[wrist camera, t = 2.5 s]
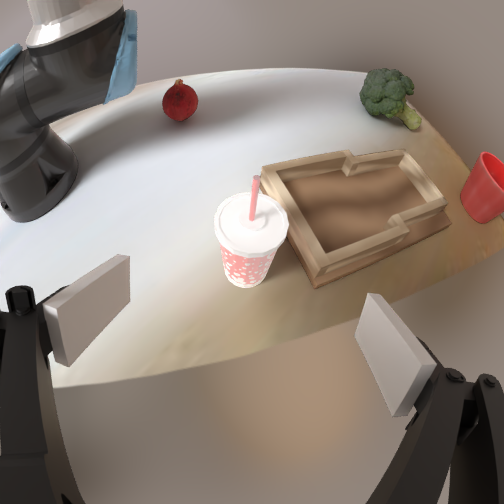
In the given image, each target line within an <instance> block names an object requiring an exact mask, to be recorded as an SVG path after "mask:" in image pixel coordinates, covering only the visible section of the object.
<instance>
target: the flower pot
mask: <svg viewBox="0 0 504 504" xmlns="http://www.w3.org/2000/svg"><path fill="white" fill-rule="evenodd" d="M460 196H461V201H462V204H463V206H464V208H465V210H466V211H467V212H468V214H469V215H470V216H471V217H472V218H473V219H474V220H476V221H477V222H479V223H486V222H488V221H490V220H491V219H493V218H495V217H496V216H498V215H499V214H501V213H502V212H504V164H503V163H502V162H501V161H500V160H499V159H498V158H497V157H495V156H494V155H492V154H491V153H488V152H482V153H481V154H480V156H479V158H478V160H477V161H476V163H475V166H474V167H473V169H472V171H471V173H470V175H469V177H468V179H467V181H466V183H465V185H464V187H463V189H462V191H461V195H460Z"/></svg>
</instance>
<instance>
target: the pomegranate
mask: <svg viewBox="0 0 504 504" xmlns="http://www.w3.org/2000/svg"><path fill="white" fill-rule="evenodd" d="M197 105H198V97H197V95H196V93H195V91H194V90H193V89H192V88H191V87H190V86H188V85H185V84H183V80H181V79H178V80H176V82H175V84H174V86H172V87H171V88H169V89H168V90H167V92H166V93H165V95H164V97H163V101H162V106H163V110H164V113H165V114H166V115H167V116H168V117H169V118H171V119H173V120H177V121H183V120H185V119H187V118H189V117H190V116H191V115H192V114H193V113H194V112H195V110H196V109H197Z"/></svg>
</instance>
